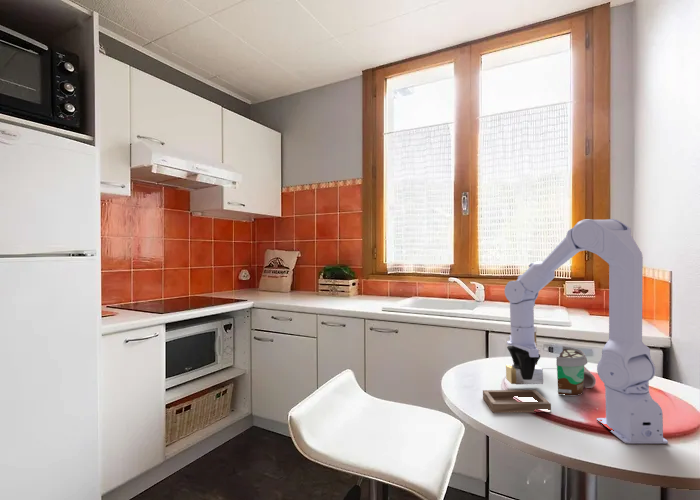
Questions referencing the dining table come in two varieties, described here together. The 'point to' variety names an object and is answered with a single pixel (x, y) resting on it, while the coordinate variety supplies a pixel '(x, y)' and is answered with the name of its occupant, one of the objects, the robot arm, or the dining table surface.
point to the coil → (588, 379)
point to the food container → (570, 371)
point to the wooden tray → (514, 401)
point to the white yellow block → (516, 376)
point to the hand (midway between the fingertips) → (523, 376)
